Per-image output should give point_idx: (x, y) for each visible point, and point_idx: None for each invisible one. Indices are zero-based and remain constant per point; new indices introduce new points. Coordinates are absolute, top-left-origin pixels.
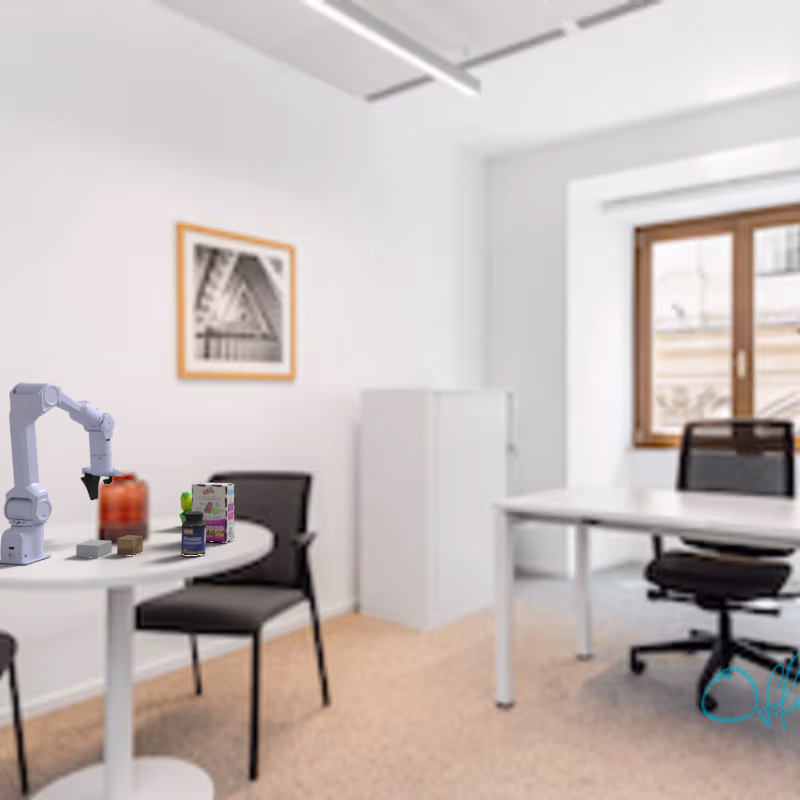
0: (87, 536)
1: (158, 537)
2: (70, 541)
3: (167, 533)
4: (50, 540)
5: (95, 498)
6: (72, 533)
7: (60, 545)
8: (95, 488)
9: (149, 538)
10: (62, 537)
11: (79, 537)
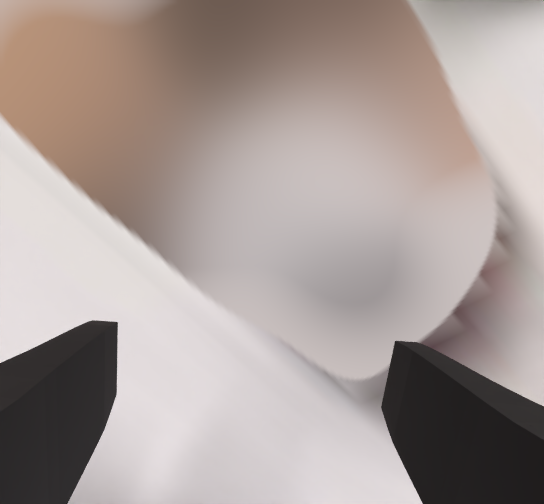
0: (156, 294)
1: (535, 141)
2: (181, 421)
3: (519, 18)
4: None
5: (115, 358)
6: (6, 270)
7: (213, 499)
8: (55, 427)
9: (504, 185)
10: None
11: (139, 332)
